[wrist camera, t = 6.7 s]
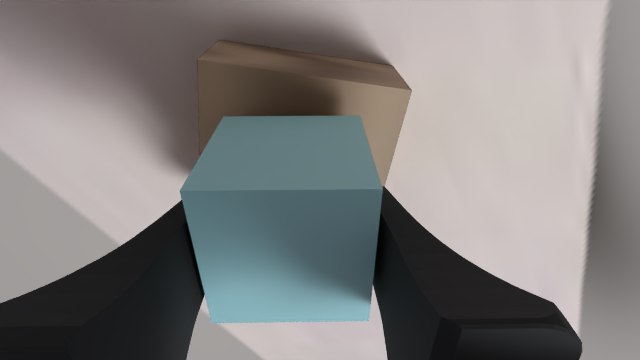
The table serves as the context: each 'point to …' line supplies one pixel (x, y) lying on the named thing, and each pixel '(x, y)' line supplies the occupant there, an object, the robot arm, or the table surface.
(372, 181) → the teal cube
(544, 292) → the table surface
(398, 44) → the table surface
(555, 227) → the table surface
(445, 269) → the robot arm
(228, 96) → the walnut block
